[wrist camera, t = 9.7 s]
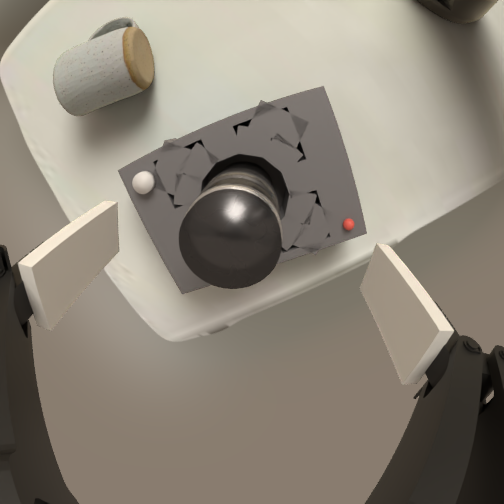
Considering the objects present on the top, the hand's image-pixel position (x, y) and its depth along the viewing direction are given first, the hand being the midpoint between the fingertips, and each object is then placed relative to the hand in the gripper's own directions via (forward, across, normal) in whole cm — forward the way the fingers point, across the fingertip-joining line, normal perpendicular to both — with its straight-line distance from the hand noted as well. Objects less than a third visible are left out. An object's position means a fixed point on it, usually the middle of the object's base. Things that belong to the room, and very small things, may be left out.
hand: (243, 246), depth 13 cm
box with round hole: (+16, -1, 0) cm, 16 cm away
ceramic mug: (+16, -16, +11) cm, 25 cm away
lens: (+13, -1, 0) cm, 13 cm away
